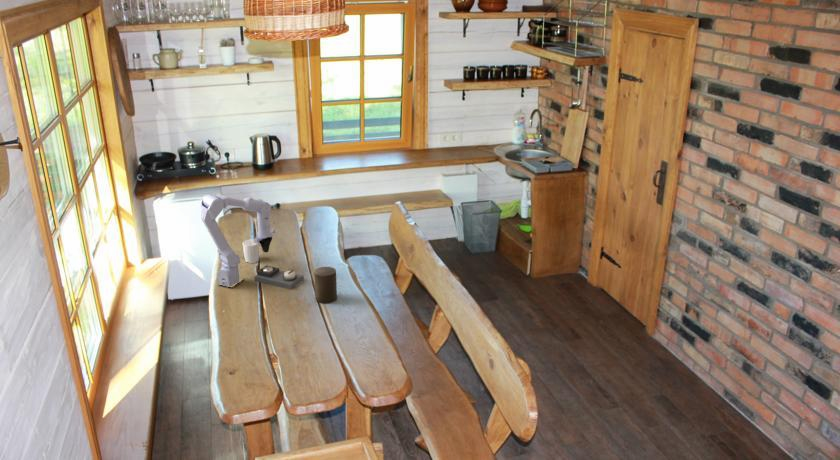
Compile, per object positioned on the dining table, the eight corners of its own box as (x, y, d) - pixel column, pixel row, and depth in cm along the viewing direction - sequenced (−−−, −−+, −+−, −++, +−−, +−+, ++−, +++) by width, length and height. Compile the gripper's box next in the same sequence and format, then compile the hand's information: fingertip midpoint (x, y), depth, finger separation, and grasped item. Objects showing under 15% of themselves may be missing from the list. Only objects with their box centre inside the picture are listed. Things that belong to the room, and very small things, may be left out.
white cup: (262, 258, 357) (260, 239, 353) (257, 264, 349) (255, 245, 346) (246, 257, 357) (245, 238, 354) (241, 263, 350) (240, 245, 346)
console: (290, 289, 325) (290, 280, 323) (254, 281, 332) (254, 272, 330) (303, 280, 334) (303, 271, 332) (268, 272, 342) (267, 263, 340)
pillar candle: (333, 304, 312) (332, 273, 307) (312, 302, 314) (310, 271, 308) (339, 295, 321) (339, 264, 315) (319, 292, 323) (318, 262, 317)
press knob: (269, 275, 332) (269, 271, 331) (261, 273, 333) (261, 269, 332) (274, 271, 335) (274, 268, 335) (267, 270, 337) (266, 266, 336)
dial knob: (291, 280, 327) (291, 275, 326) (282, 278, 329) (281, 273, 328) (297, 275, 331) (297, 271, 330) (288, 273, 333) (288, 269, 332)
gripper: (261, 231, 326) (263, 258, 331) (279, 221, 338) (281, 247, 343) (249, 229, 328) (251, 256, 333) (267, 219, 341) (269, 245, 346)
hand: (265, 251), depth 338 cm, fingers closed
